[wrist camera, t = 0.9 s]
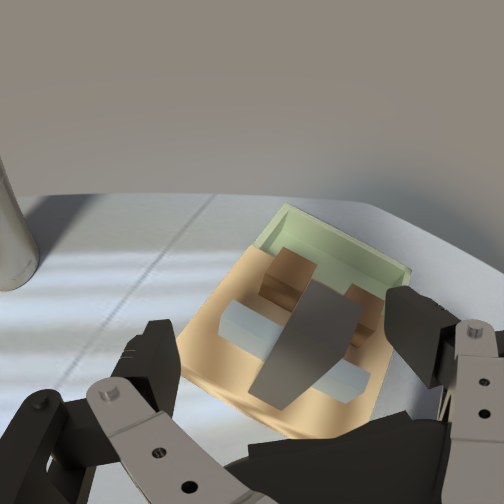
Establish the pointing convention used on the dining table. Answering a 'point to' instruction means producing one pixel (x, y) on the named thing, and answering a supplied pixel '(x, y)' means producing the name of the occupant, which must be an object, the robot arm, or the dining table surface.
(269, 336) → the scraper
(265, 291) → the brown wood cube
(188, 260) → the dining table surface
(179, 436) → the robot arm
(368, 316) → the brown wooden cube
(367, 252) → the tray
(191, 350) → the board
